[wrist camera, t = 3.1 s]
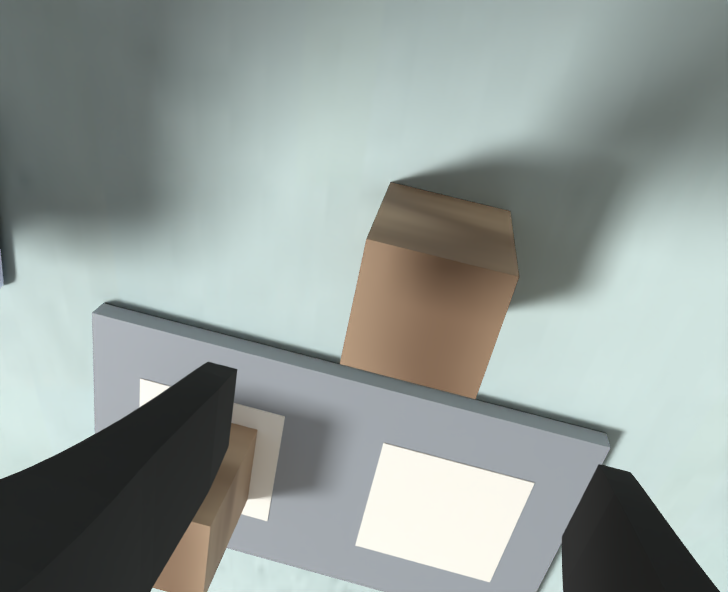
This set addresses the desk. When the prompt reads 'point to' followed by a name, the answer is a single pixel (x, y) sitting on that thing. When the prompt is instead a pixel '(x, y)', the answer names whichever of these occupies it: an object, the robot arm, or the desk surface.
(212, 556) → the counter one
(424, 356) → the block
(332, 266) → the desk surface
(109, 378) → the board
